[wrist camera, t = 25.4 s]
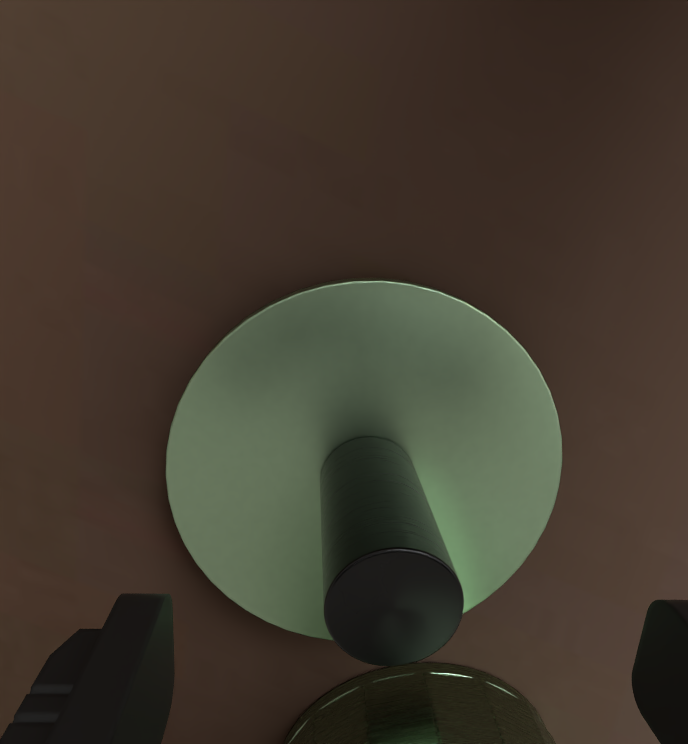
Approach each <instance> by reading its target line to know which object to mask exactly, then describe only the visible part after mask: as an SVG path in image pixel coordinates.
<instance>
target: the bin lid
mask: <svg viewBox="0 0 688 744" xmlns="http://www.w3.org/2000/svg"><path fill="white" fill-rule="evenodd" d="M561 468H562V436H561V430H560V425H559V419H558V413H557V410H556V407H555V404H554V401H553V398H552V395H551V392H550V390H549V388H548V386H547V384H546V382H545V380H544V378H543V376H542V374H541V372H540V370H539V368H538V367H537V365H536V364H535V362H534V361H533V360H532V358H531V357H530V355H529V354H528V352H527V351H526V350H525V348H524V347H523V346H522V345H521V344H520V343H519V342H518V341H517V340H516V339H515V338H514V337H513V336H512V335H511V334H510V332H509V331H508V330H507V329H505V328H504V327H503V326H501V325H500V324H499V323H498V322H496V321H495V320H494V319H493V318H491V317H490V316H489V315H487V314H486V313H484V312H483V311H481V310H479V309H478V308H476V307H474V306H472V305H471V304H469V303H467V302H466V301H464V300H462V299H460V298H459V297H456V296H454V295H451V294H449V293H446V292H444V291H441V290H439V289H436V288H434V287H430V286H426V285H422V284H418V283H414V282H410V281H404V280H396V279H387V278H350V279H344V280H337V281H331V282H324V283H321V284H317V285H314V286H310V287H307V288H303V289H300V290H297V291H295V292H292V293H290V294H288V295H285V296H283V297H281V298H279V299H276V300H274V301H272V302H270V303H268V304H267V305H265V306H264V307H262V308H260V309H259V310H257V311H255V312H254V313H252V314H250V315H249V316H247V317H246V318H245V319H244V320H242V321H241V322H240V323H239V324H238V325H236V326H235V327H234V328H233V329H231V330H230V331H229V332H228V333H227V334H226V335H225V336H224V337H223V338H222V339H221V340H220V341H219V342H218V343H217V344H216V345H215V346H214V348H213V349H212V350H211V351H210V352H209V353H208V354H207V356H206V357H205V359H204V360H203V362H202V363H201V364H200V366H199V367H198V369H197V370H196V372H195V373H194V374H193V376H192V377H191V379H190V381H189V383H188V385H187V387H186V389H185V390H184V392H183V394H182V396H181V398H180V400H179V403H178V406H177V409H176V411H175V414H174V417H173V420H172V423H171V427H170V432H169V438H168V443H167V449H166V483H167V492H168V499H169V503H170V507H171V510H172V514H173V518H174V521H175V524H176V526H177V528H178V531H179V533H180V535H181V538H182V540H183V542H184V544H185V546H186V548H187V549H188V551H189V553H190V554H191V556H192V557H193V559H194V561H195V562H196V564H197V565H198V566H199V567H200V569H201V570H202V571H203V572H204V574H205V575H206V576H207V577H208V579H209V580H210V581H211V582H212V583H213V584H214V585H215V586H216V587H217V588H218V589H220V590H221V591H222V592H223V593H224V594H225V595H226V596H227V597H228V598H230V599H231V600H232V601H234V602H235V603H236V604H238V605H239V606H241V607H242V608H243V609H245V610H246V611H248V612H250V613H252V614H253V615H255V616H257V617H259V618H261V619H262V620H264V621H266V622H268V623H271V624H273V625H276V626H278V627H281V628H283V629H285V630H288V631H292V632H295V633H299V634H302V635H306V636H309V637H315V638H321V639H327V640H334V641H335V642H336V644H337V645H338V646H339V647H340V648H341V649H342V650H343V651H345V652H346V653H347V654H349V655H350V656H352V657H354V658H356V659H358V660H360V661H363V662H366V663H369V664H373V665H379V666H399V665H405V664H410V663H413V662H416V661H419V660H422V659H424V658H426V657H428V656H430V655H432V654H433V653H435V652H436V651H438V650H439V649H440V648H441V647H443V646H444V645H445V644H446V643H447V642H448V641H449V640H450V638H451V637H452V636H453V634H454V633H455V631H456V629H457V628H458V626H459V623H460V621H461V618H462V614H463V613H465V612H467V611H469V610H470V609H472V608H473V607H475V606H476V605H478V604H479V603H481V602H482V601H484V600H485V599H487V598H488V597H489V596H490V595H491V594H493V593H494V592H495V591H496V590H497V589H498V588H500V587H501V586H502V585H503V584H504V583H505V582H506V581H507V580H508V579H509V578H510V577H511V576H512V575H513V574H514V573H515V572H516V571H517V570H518V568H519V567H520V566H521V565H522V564H523V562H524V561H525V560H526V558H527V557H528V555H529V554H530V553H531V551H532V550H533V549H534V547H535V545H536V544H537V542H538V540H539V538H540V536H541V535H542V533H543V531H544V529H545V527H546V525H547V522H548V520H549V517H550V515H551V513H552V510H553V508H554V504H555V500H556V496H557V493H558V489H559V485H560V477H561Z"/></svg>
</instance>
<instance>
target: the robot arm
mask: <svg viewBox="0 0 688 744" xmlns="http://www.w3.org/2000/svg"><path fill="white" fill-rule="evenodd" d="M173 687H174V641H173V610H172V599H171V596H170V594H121V595H120V596H119V597H118V598H117V600H116V602H115V604H114V606H113V608H112V610H111V612H110V614H109V616H108V618H107V620H106V622H105V624H104V626H103V628H102V629H79V630H78V631H77V632H76V633H75V634H73V635H72V636H71V637H70V638H69V639H68V640H67V641H66V642H64V643H63V644H62V645H61V646H60V647H59V648H58V649H57V650H55V651H54V652H53V653H52V654H51V655H50V656H49V658H48V659H47V661H46V663H45V665H44V666H43V668H42V670H41V671H40V673H39V675H38V676H37V678H36V680H35V682H34V683H33V685H32V687H31V691H30V694H27V695H26V697H25V698H24V700H23V702H22V704H21V705H20V707H19V709H18V710H17V712H16V714H15V715H14V721H13V723H10V724H9V726H8V727H7V729H6V731H5V732H4V734H3V736H2V737H1V739H0V744H161V742H162V738H163V734H164V731H165V727H166V724H167V720H168V716H169V712H170V708H171V702H172V696H173ZM632 688H633V693H634V697H635V701H636V703H637V706H638V708H639V710H640V712H641V714H642V716H643V718H644V719H645V721H646V722H647V724H648V725H649V727H650V728H651V730H652V731H653V733H654V734H655V736H656V737H657V739H658V740H659V742H660V743H661V744H688V600H655V601H654V602H652V603H651V604H650V606H649V608H648V611H647V614H646V618H645V622H644V626H643V631H642V635H641V639H640V643H639V647H638V651H637V655H636V659H635V663H634V667H633V671H632Z"/></svg>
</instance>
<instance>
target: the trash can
mask: <svg viewBox="0 0 688 744" xmlns="http://www.w3.org/2000/svg"><path fill="white" fill-rule="evenodd" d="M284 744H556V743H555V741H554V739H553V737H552V736H551V735H550V733H549V732H548V731H547V729H546V727H545V725H544V723H543V721H542V719H541V717H540V716H539V714H538V713H537V711H536V709H535V708H534V707H533V706H532V705H531V704H530V702H529V701H528V700H527V699H526V698H525V697H524V696H523V695H522V694H520V693H519V692H518V691H517V690H516V689H514V688H513V687H512V686H510V685H508V684H507V683H505V682H503V681H502V680H500V679H498V678H496V677H494V676H492V675H489V674H487V673H485V672H482V671H479V670H475V669H472V668H469V667H464V666H459V665H453V664H445V663H410V664H405V665H399V666H391V667H387V668H383V669H379V670H375V671H372V672H369V673H366V674H364V675H361V676H359V677H356V678H354V679H352V680H350V681H348V682H346V683H344V684H342V685H340V686H338V687H336V688H335V689H333V690H332V691H330V692H329V693H327V694H326V695H324V696H323V697H321V698H320V699H319V700H318V701H317V702H315V703H314V704H313V705H312V706H311V707H309V708H308V710H307V711H306V712H305V713H304V714H303V715H302V716H301V717H300V718H299V719H298V721H297V722H296V723H295V725H294V726H293V728H292V729H291V731H290V732H289V734H288V736H287V738H286V740H285V742H284Z"/></svg>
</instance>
